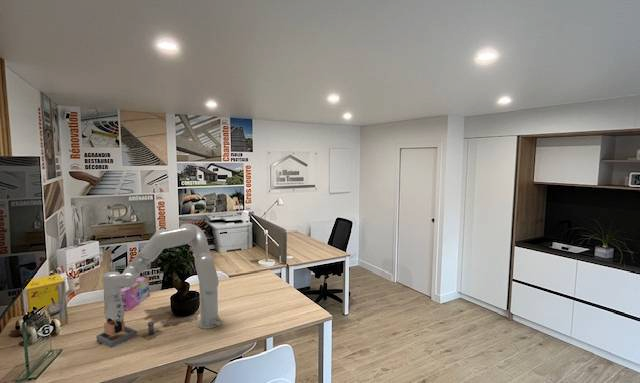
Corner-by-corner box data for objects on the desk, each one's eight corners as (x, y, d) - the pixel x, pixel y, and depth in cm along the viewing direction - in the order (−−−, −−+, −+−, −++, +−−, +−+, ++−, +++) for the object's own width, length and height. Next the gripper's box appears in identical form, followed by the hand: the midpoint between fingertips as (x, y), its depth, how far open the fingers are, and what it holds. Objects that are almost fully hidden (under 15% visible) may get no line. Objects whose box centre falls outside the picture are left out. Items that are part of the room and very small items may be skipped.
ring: (127, 329, 174) (127, 320, 173) (111, 336, 167) (111, 326, 166) (120, 326, 177) (119, 317, 176) (104, 332, 170) (104, 323, 169)
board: (164, 334, 178) (163, 321, 177) (148, 342, 170) (148, 329, 169) (153, 329, 182) (153, 317, 182) (138, 337, 174) (137, 324, 174)
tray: (136, 336, 175) (136, 330, 175) (111, 349, 164) (110, 342, 163) (122, 330, 181) (121, 324, 181) (96, 342, 170) (96, 335, 170)
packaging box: (68, 323, 188) (65, 281, 185) (30, 335, 176) (26, 289, 173) (61, 314, 199) (58, 273, 196) (25, 324, 187) (21, 281, 184)
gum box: (128, 311, 203) (126, 290, 201) (115, 311, 203) (114, 290, 202) (150, 295, 226) (149, 276, 225) (138, 295, 227) (137, 275, 225)
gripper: (130, 297, 168) (131, 331, 170) (110, 290, 177) (112, 322, 178) (115, 303, 162) (116, 338, 164) (95, 295, 170) (97, 328, 172)
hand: (114, 329), depth 171 cm, fingers closed on ring, 6 cm apart
